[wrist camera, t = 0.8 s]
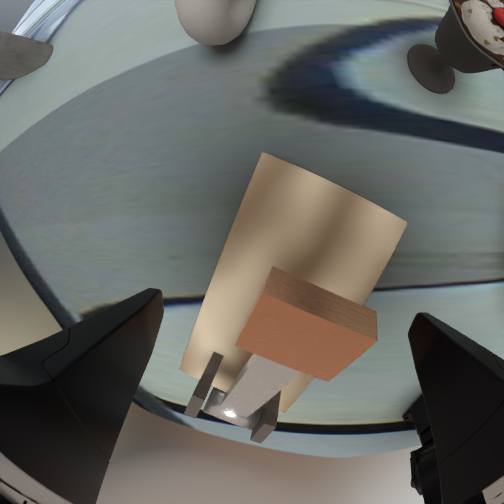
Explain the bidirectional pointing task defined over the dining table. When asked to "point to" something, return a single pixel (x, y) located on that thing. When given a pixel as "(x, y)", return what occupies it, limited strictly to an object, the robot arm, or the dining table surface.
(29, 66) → the hip flask
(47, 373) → the robot arm
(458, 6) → the sundae
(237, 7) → the donut
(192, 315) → the dining table surface
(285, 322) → the lever
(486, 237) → the dining table surface
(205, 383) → the base
